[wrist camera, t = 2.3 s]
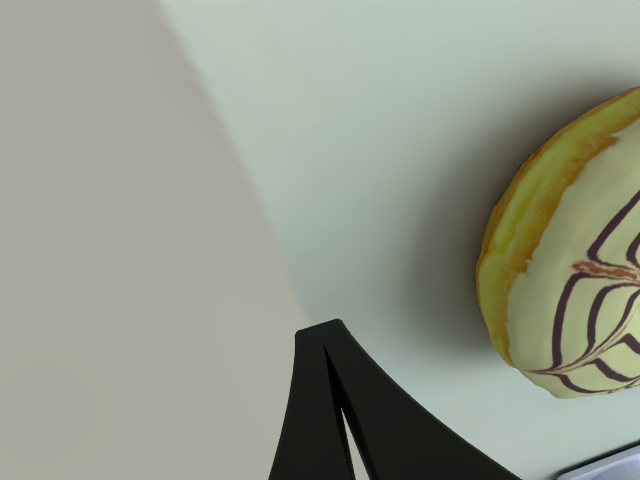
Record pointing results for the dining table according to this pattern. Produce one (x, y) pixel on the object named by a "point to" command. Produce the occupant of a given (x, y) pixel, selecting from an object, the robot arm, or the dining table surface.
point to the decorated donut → (570, 257)
